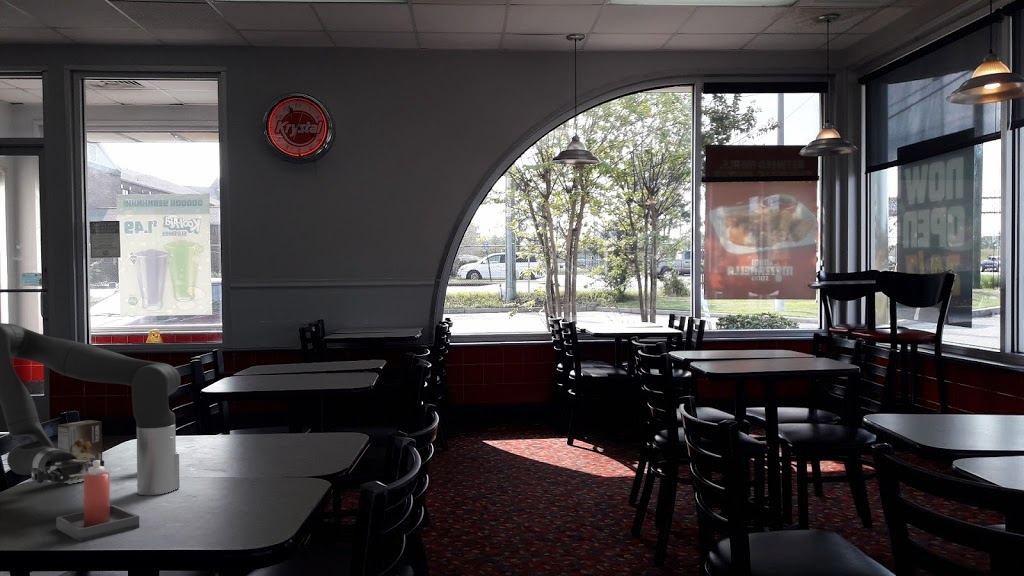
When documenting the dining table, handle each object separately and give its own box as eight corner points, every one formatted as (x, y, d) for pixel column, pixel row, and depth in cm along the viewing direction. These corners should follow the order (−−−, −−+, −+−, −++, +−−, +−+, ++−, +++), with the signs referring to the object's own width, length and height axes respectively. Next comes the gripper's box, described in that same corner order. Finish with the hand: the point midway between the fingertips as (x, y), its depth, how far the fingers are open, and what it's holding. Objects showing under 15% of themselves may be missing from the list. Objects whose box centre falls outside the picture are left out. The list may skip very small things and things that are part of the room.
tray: (113, 515, 173) (113, 504, 173) (139, 527, 164) (139, 516, 164) (56, 528, 164) (56, 517, 164) (79, 541, 155) (79, 529, 155)
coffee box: (91, 475, 213) (90, 419, 214) (103, 477, 210) (102, 421, 210) (57, 482, 206) (57, 424, 206) (70, 485, 202) (69, 426, 202)
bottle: (104, 519, 167) (103, 457, 168) (113, 523, 164) (113, 460, 164) (80, 524, 164) (79, 461, 164) (89, 529, 160) (88, 464, 160)
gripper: (21, 454, 176) (44, 464, 166) (86, 444, 187) (112, 452, 176) (21, 486, 176) (45, 497, 165) (86, 474, 187) (112, 484, 176)
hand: (79, 474), depth 171 cm, fingers open, 8 cm apart
